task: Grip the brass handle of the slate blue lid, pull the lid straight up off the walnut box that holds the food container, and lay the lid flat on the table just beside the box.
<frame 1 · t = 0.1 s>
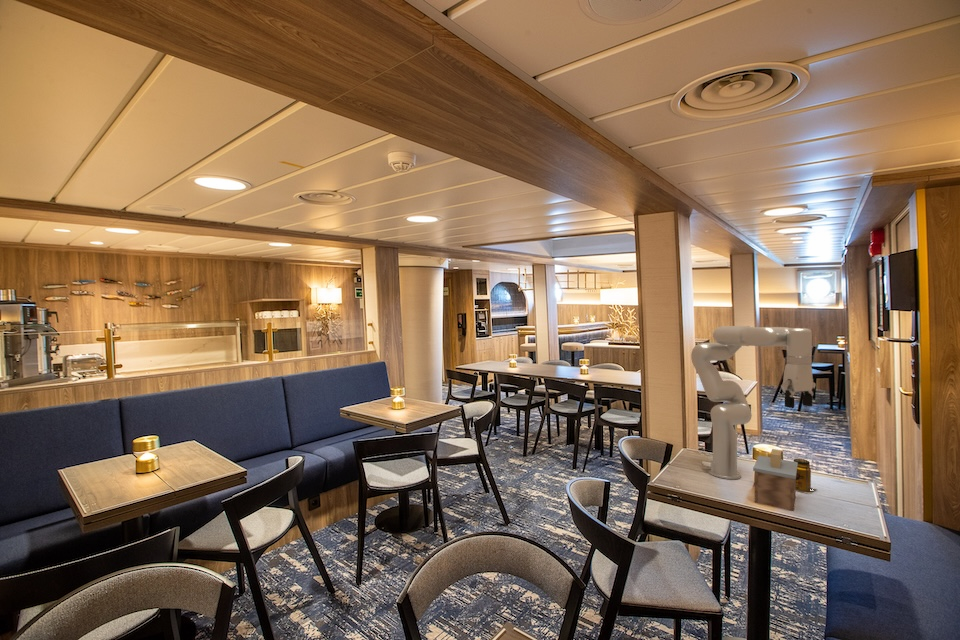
hand: (798, 406, 161), 37 cm above the table, tool pointing down, fingers open, 9 cm apart
box: (775, 498, 167), on the table
food container: (777, 499, 167), resting in box
condiment: (802, 489, 177), on the table
lid: (775, 470, 167), point 11 cm above the table, touching box
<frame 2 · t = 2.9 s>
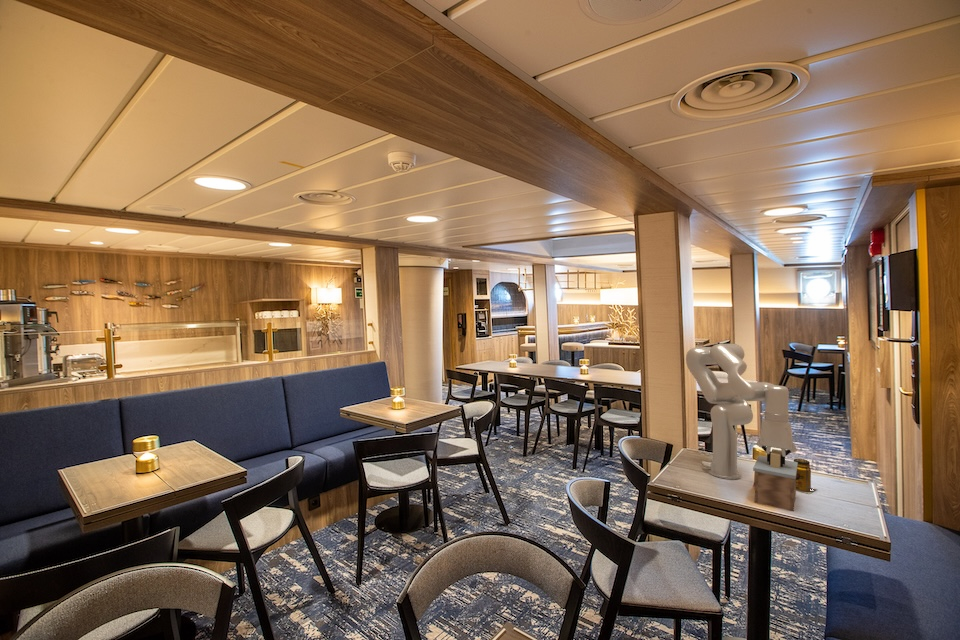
hand: (775, 464, 167), 13 cm above the table, tool pointing down, fingers closed on lid, 3 cm apart
lid: (775, 470, 167), point 11 cm above the table, touching box, gripper
everything else where it was.
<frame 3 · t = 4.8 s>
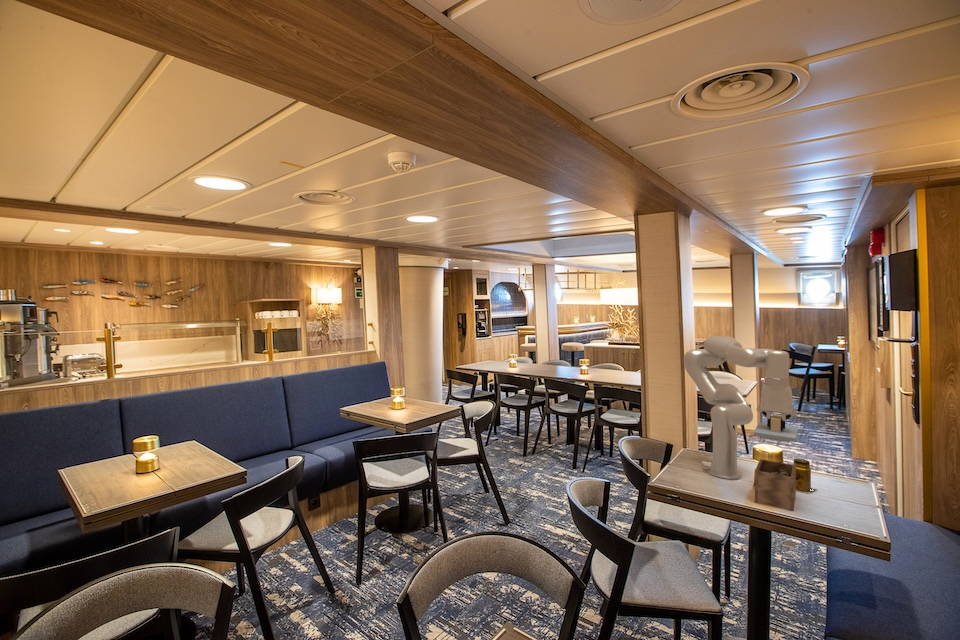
hand: (776, 429, 167), 27 cm above the table, tool pointing down, fingers closed on lid, 3 cm apart
lid: (776, 435, 167), point 25 cm above the table, touching gripper
everything else where it was.
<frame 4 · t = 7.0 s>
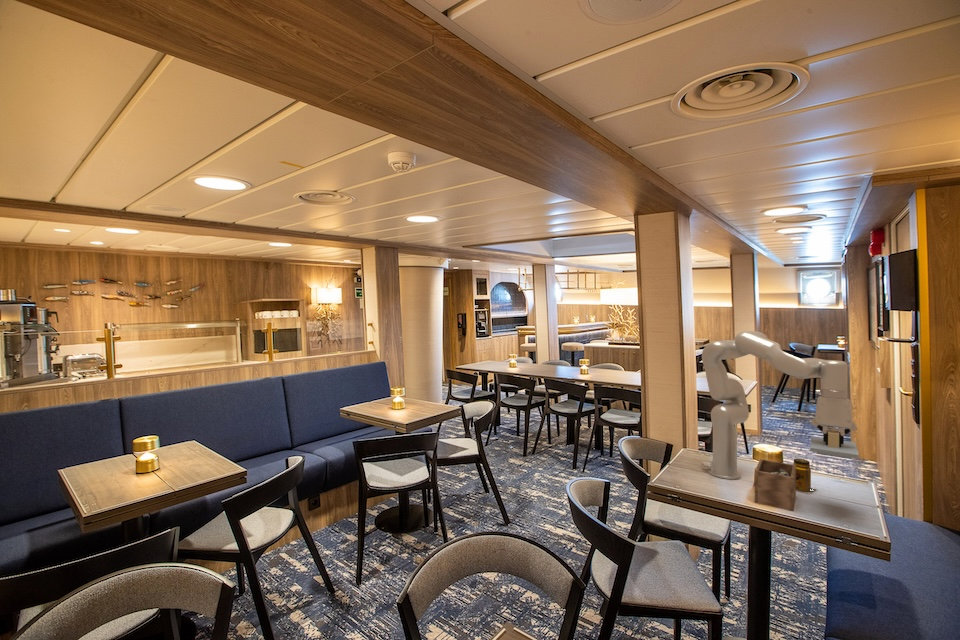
hand: (833, 444, 156), 24 cm above the table, tool pointing down, fingers closed on lid, 3 cm apart
lid: (833, 451, 156), point 22 cm above the table, touching gripper
everything else where it was.
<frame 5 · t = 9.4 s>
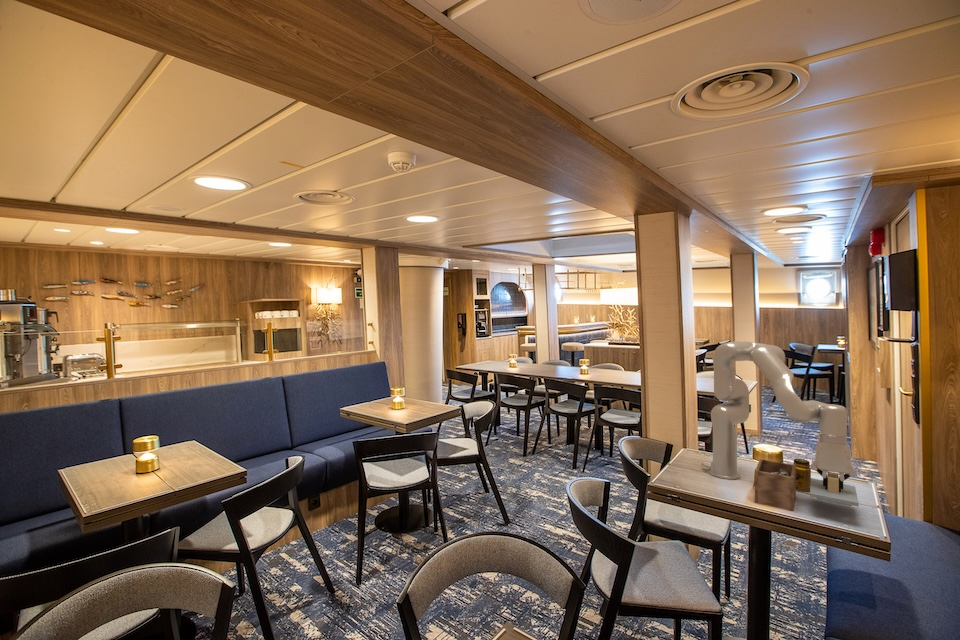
hand: (832, 489, 156), 8 cm above the table, tool pointing down, fingers closed on lid, 3 cm apart
lid: (832, 495, 156), point 6 cm above the table, touching gripper
everything else where it was.
when the fingers open (4 cm above the table, at t = 11.2 s): lid drops 2 cm, on the table.
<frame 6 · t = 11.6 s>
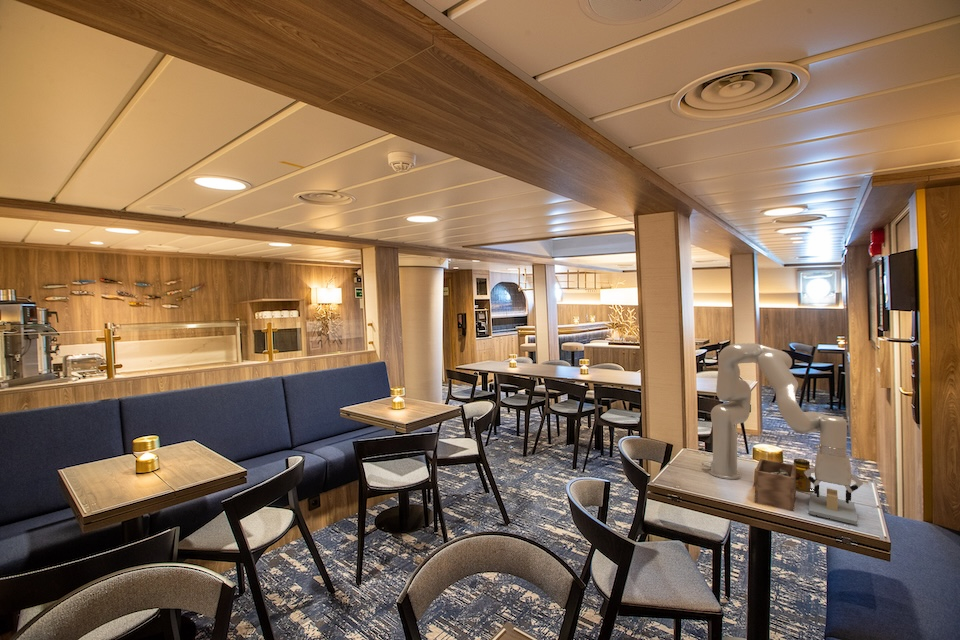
hand: (832, 498, 156), 5 cm above the table, tool pointing down, fingers open, 7 cm apart
lid: (831, 512, 156), on the table
everything else where it was.
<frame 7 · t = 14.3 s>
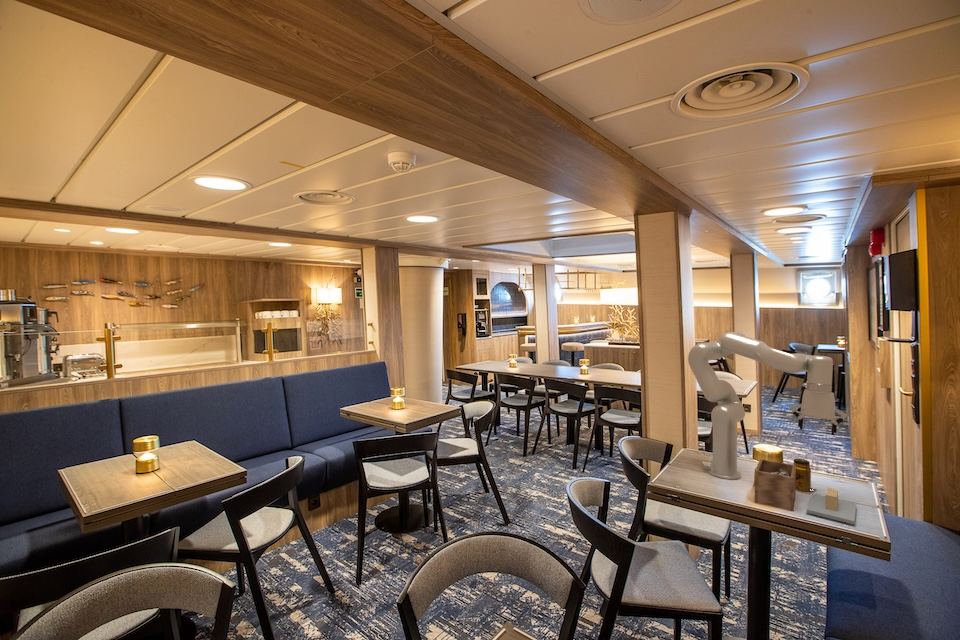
hand: (816, 431, 167), 26 cm above the table, tool pointing down, fingers open, 9 cm apart
nothing on the table moved.
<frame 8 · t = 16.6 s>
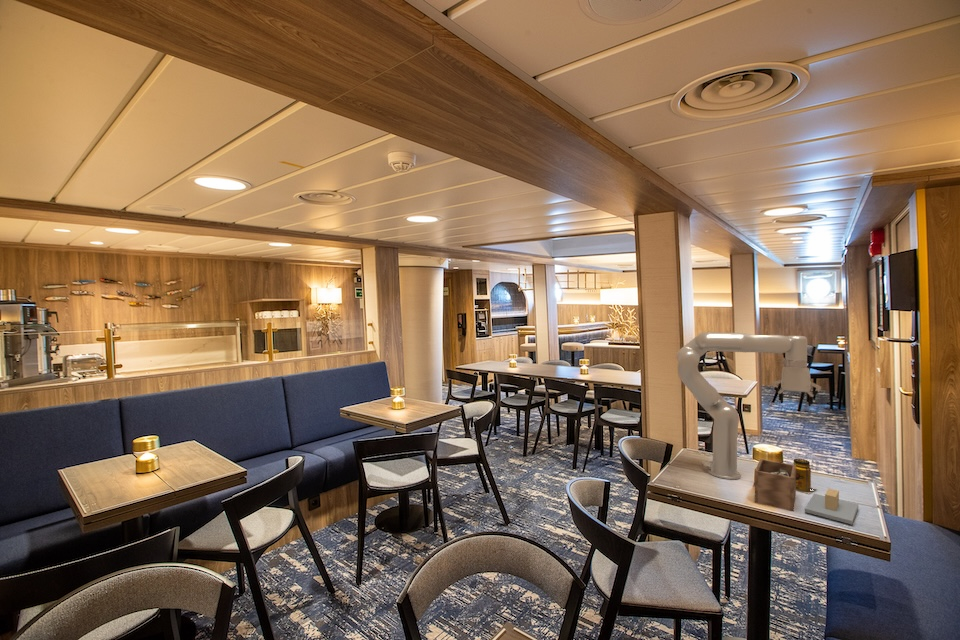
hand: (795, 404, 185), 33 cm above the table, tool pointing down, fingers open, 9 cm apart
nothing on the table moved.
at the end: lid inside the target area (0.1 cm from its centre), on the table; lid tilted 0°; the gripper is holding nothing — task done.
